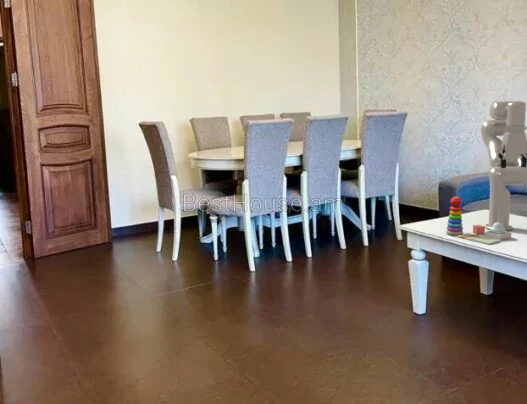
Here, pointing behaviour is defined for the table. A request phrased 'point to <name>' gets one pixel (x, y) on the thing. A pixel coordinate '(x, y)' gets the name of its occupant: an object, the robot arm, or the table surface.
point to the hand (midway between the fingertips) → (513, 167)
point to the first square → (469, 236)
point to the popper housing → (497, 235)
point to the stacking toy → (455, 218)
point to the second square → (486, 240)
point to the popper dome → (498, 228)
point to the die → (478, 229)
